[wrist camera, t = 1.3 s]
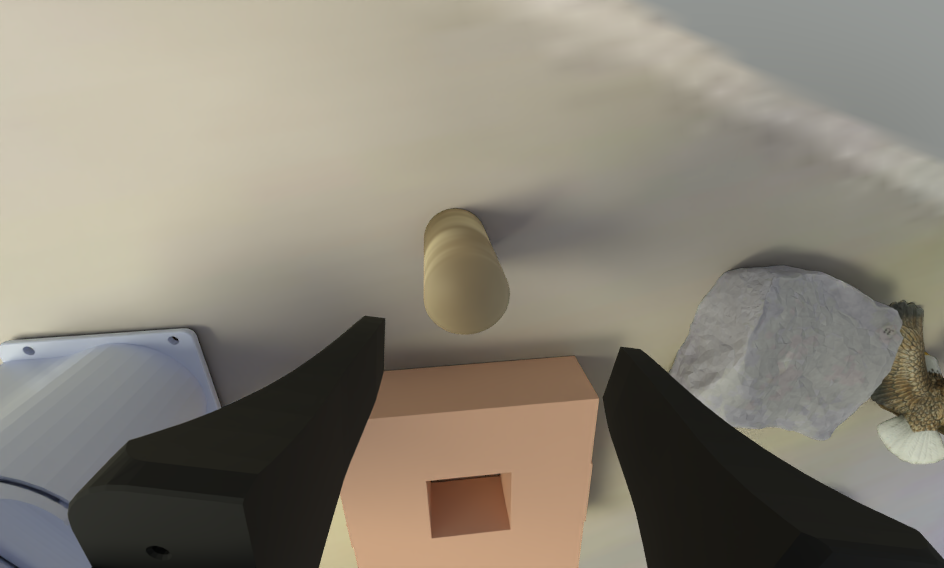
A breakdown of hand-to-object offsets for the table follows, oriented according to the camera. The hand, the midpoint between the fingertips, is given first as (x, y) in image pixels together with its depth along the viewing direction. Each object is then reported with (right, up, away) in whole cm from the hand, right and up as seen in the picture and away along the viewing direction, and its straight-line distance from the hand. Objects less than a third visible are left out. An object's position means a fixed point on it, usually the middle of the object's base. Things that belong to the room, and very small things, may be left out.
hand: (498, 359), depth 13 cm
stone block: (+18, -1, +14) cm, 23 cm away
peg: (-2, +5, +9) cm, 10 cm away
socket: (-1, -9, +15) cm, 18 cm away
